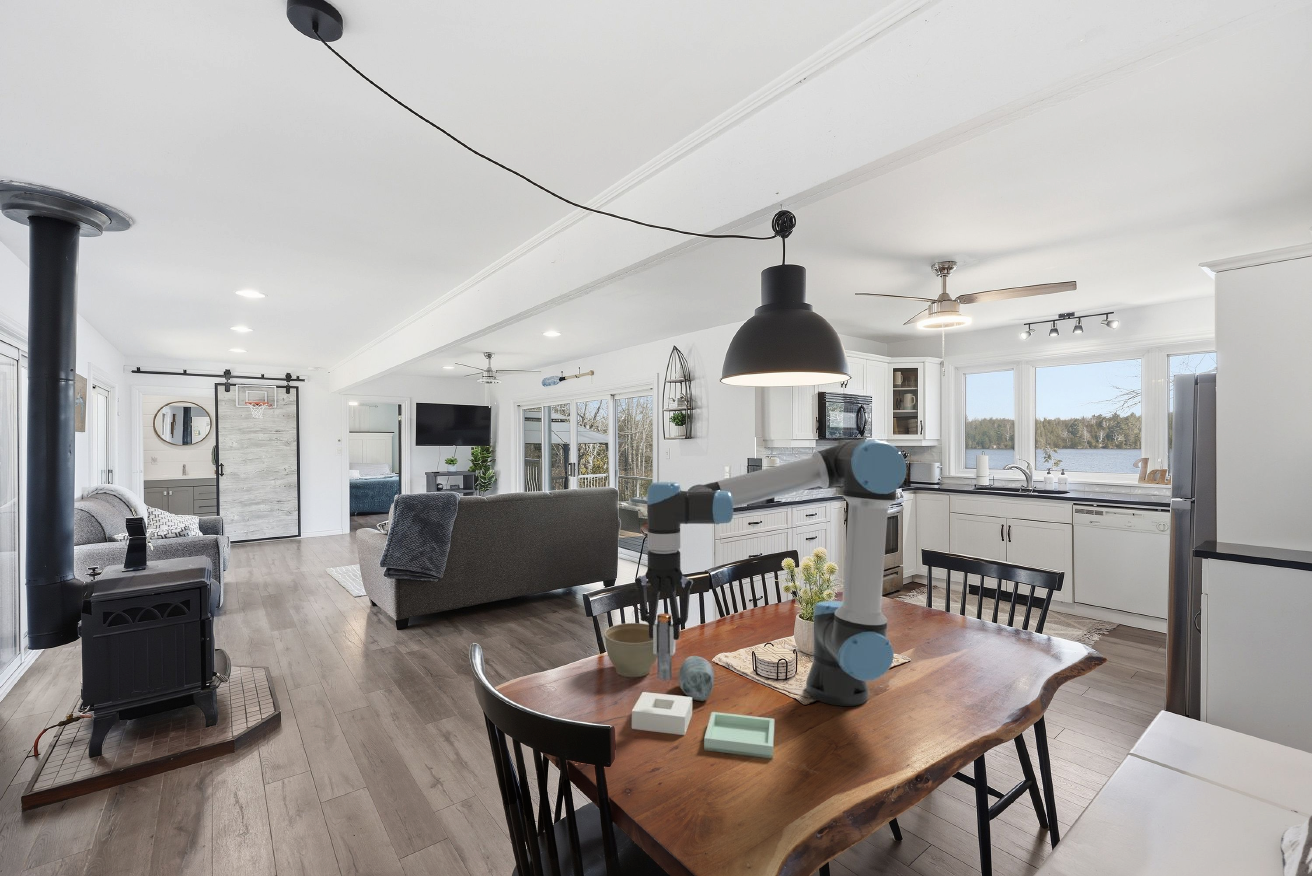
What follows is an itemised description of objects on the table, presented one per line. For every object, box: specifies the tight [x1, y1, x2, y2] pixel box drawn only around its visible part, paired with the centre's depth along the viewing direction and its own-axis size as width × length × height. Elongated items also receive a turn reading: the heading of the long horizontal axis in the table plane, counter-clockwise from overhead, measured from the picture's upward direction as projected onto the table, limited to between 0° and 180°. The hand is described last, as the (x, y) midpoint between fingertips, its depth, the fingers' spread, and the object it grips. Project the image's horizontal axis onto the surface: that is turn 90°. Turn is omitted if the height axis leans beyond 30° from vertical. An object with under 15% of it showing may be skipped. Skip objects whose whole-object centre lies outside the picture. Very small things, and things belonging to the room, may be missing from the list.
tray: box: [703, 711, 775, 760], centre depth 127 cm, size 14×12×2 cm
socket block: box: [631, 691, 693, 736], centre depth 135 cm, size 12×10×4 cm
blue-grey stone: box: [677, 655, 715, 702], centre depth 151 cm, size 14×10×10 cm
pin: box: [656, 613, 673, 681], centre depth 135 cm, size 3×3×14 cm
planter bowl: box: [603, 622, 658, 678], centre depth 164 cm, size 16×16×11 cm
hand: (664, 652), depth 135 cm, fingers closed on pin, 3 cm apart
